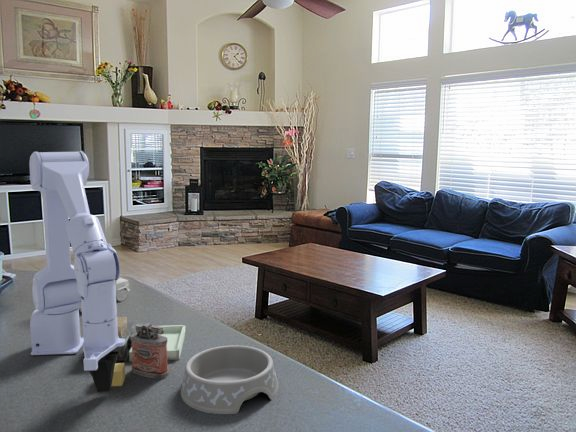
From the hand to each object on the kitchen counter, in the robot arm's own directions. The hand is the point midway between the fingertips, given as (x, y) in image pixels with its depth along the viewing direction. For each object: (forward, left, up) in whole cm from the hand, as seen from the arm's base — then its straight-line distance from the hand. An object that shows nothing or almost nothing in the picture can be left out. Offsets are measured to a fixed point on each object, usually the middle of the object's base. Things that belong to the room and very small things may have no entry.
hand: (104, 389), depth 90 cm
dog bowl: (+23, +1, -2) cm, 23 cm away
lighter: (+7, +8, -1) cm, 11 cm away
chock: (0, +5, -1) cm, 5 cm away
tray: (+7, +21, -1) cm, 22 cm away
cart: (-3, +18, -1) cm, 19 cm away
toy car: (-15, +51, -2) cm, 53 cm away
